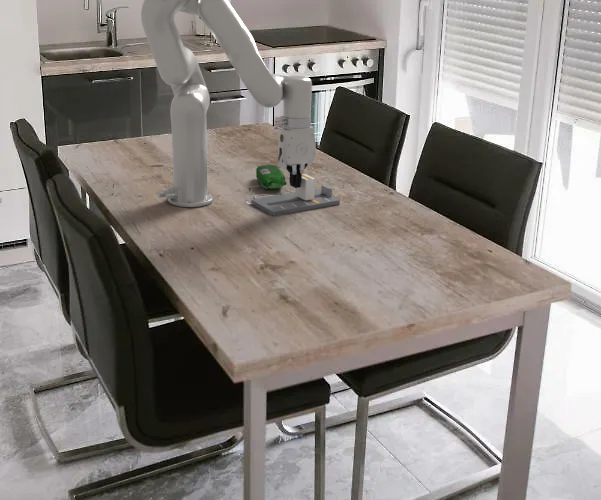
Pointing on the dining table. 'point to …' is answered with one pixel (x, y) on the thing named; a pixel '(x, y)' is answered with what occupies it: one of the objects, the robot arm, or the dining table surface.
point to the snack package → (270, 176)
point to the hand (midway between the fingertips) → (295, 186)
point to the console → (295, 202)
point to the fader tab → (306, 188)
